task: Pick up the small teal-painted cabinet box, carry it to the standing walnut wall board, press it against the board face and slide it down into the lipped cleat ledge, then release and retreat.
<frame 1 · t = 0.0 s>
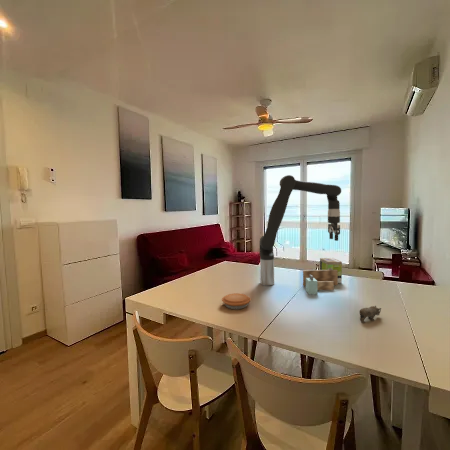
hand: (333, 239, 170), 29 cm above the table, fingers open, 8 cm apart
tea box: (330, 280, 177), on the table
wall board: (320, 285, 166), on the table
pie: (236, 305, 135), on the table
cabinet: (311, 292, 153), on the table
rhino figurine: (371, 319, 114), on the table
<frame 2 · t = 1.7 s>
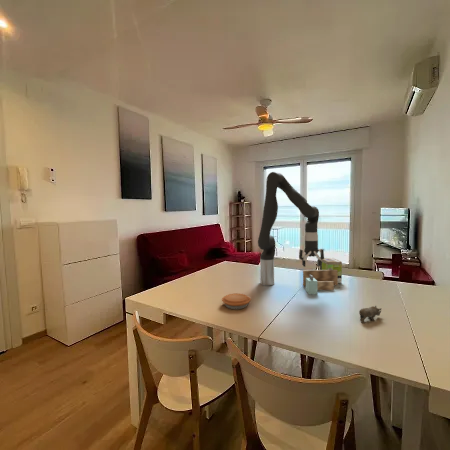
hand: (311, 266, 152), 16 cm above the table, fingers open, 8 cm apart
nothing on the table moved.
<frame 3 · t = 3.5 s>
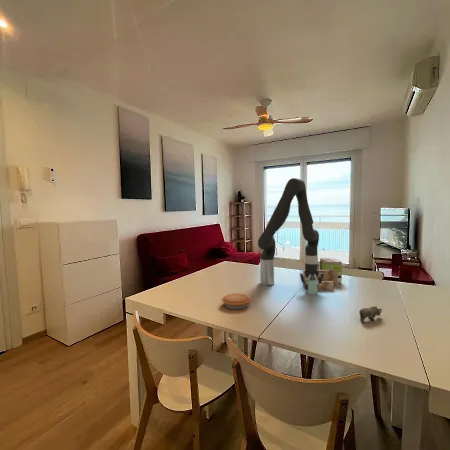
hand: (311, 289, 153), 1 cm above the table, fingers closed on cabinet, 5 cm apart
cabinet: (311, 292, 153), on the table, touching gripper
everything else where it was.
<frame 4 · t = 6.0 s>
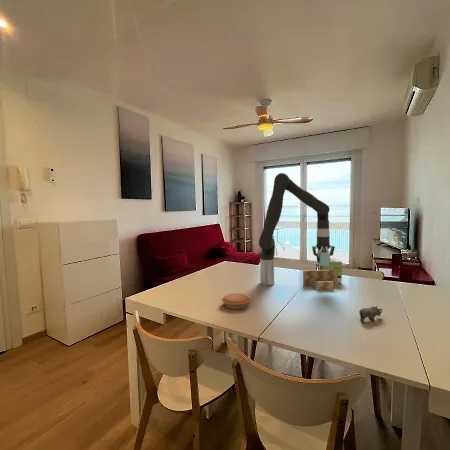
hand: (323, 262, 159), 17 cm above the table, fingers closed on cabinet, 5 cm apart
cabinet: (323, 264, 159), point 15 cm above the table, touching gripper
everything else where it was.
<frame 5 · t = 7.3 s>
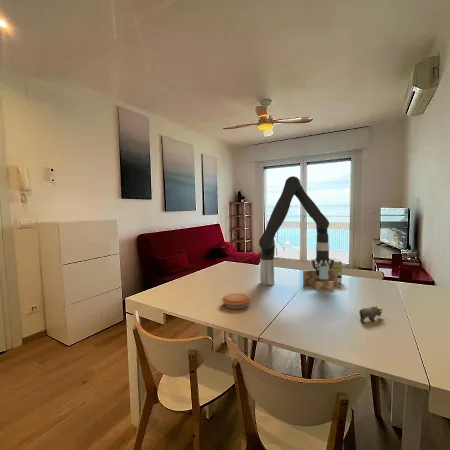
hand: (322, 275, 161), 8 cm above the table, fingers closed on cabinet, 5 cm apart
cabinet: (322, 277, 161), point 6 cm above the table, touching gripper
everything else where it was.
when the fingers open (5 cm above the table, at t = 8.5 s): cabinet stays where it is, resting on wall board.
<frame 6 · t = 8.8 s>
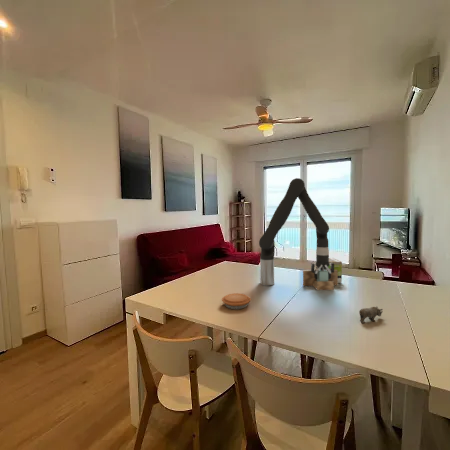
hand: (322, 279, 162), 5 cm above the table, fingers open, 7 cm apart
cabinet: (322, 282, 162), point 3 cm above the table, touching wall board
everything else where it was.
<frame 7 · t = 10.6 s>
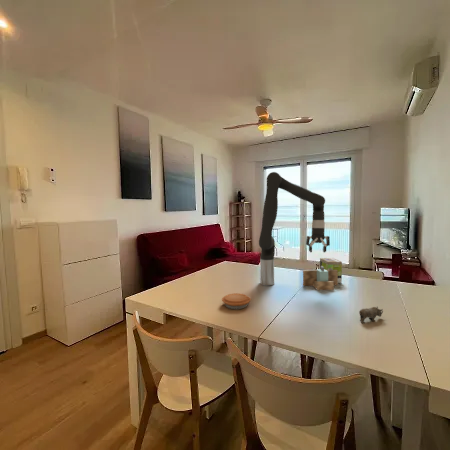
hand: (317, 252, 161), 23 cm above the table, fingers open, 8 cm apart
nothing on the table moved.
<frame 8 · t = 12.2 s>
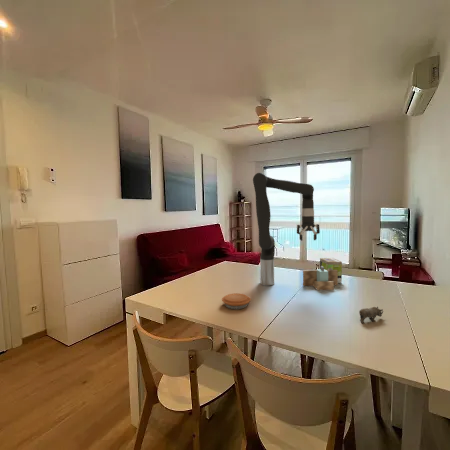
hand: (308, 240, 164), 30 cm above the table, fingers open, 8 cm apart
nothing on the table moved.
at the end: cabinet inside the target area on the wall board (0.5 cm from its centre), point 3.0 cm above the wall board's base; cabinet tilted 0°; the gripper is holding nothing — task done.
